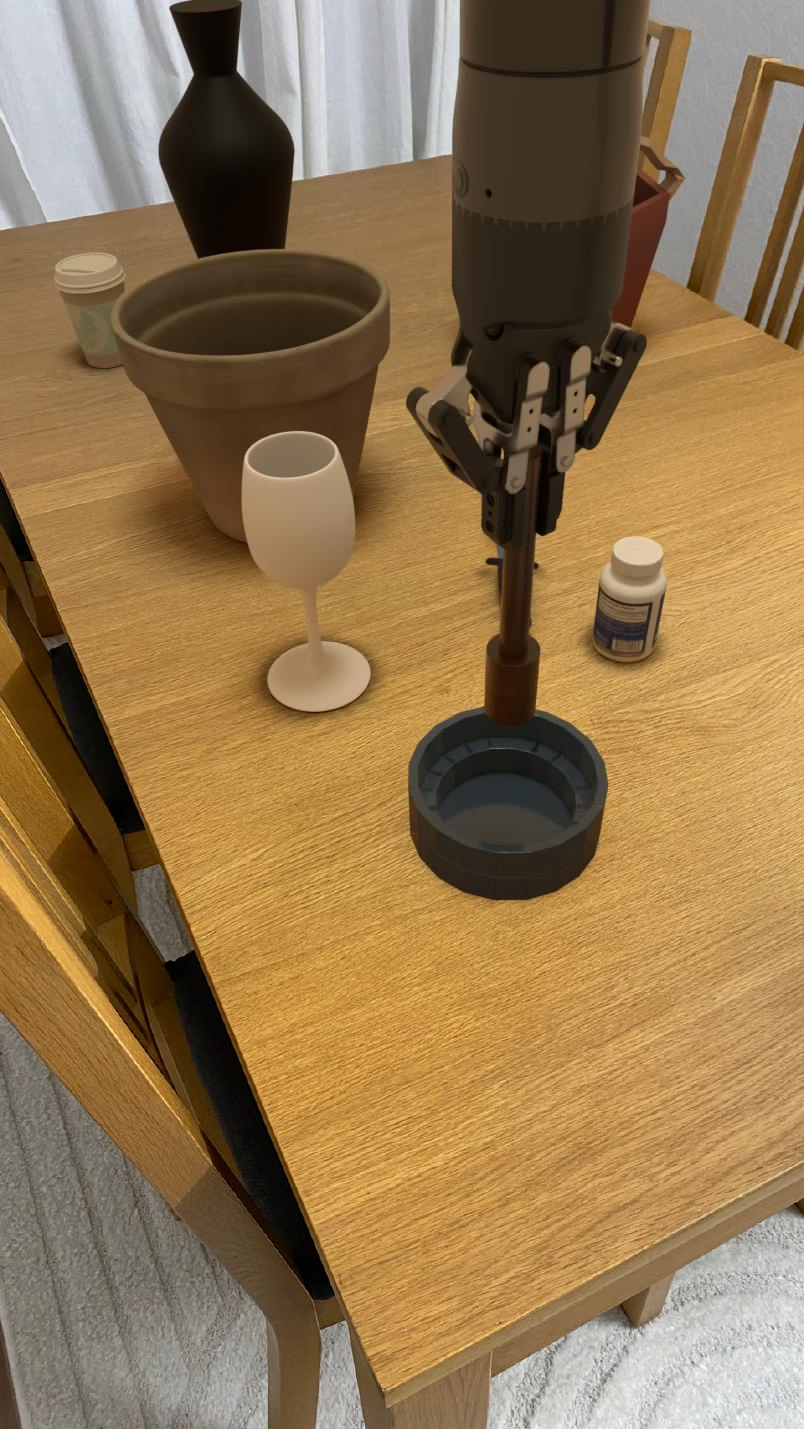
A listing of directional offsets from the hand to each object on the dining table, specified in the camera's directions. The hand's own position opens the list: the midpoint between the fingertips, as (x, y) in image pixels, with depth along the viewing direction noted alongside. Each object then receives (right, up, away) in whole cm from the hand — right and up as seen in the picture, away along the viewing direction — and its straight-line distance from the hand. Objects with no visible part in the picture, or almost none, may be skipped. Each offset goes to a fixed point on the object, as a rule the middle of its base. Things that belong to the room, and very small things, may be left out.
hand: (521, 534), depth 53 cm
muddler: (0, -9, +9) cm, 13 cm away
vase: (-28, +48, +87) cm, 103 cm away
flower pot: (-19, +12, +50) cm, 55 cm away
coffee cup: (-44, +37, +76) cm, 96 cm away
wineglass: (-13, -7, +31) cm, 34 cm away
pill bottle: (+13, -4, +33) cm, 35 cm away
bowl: (+1, -18, +18) cm, 26 cm away
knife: (+4, +5, +42) cm, 42 cm away
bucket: (+13, +37, +74) cm, 84 cm away
